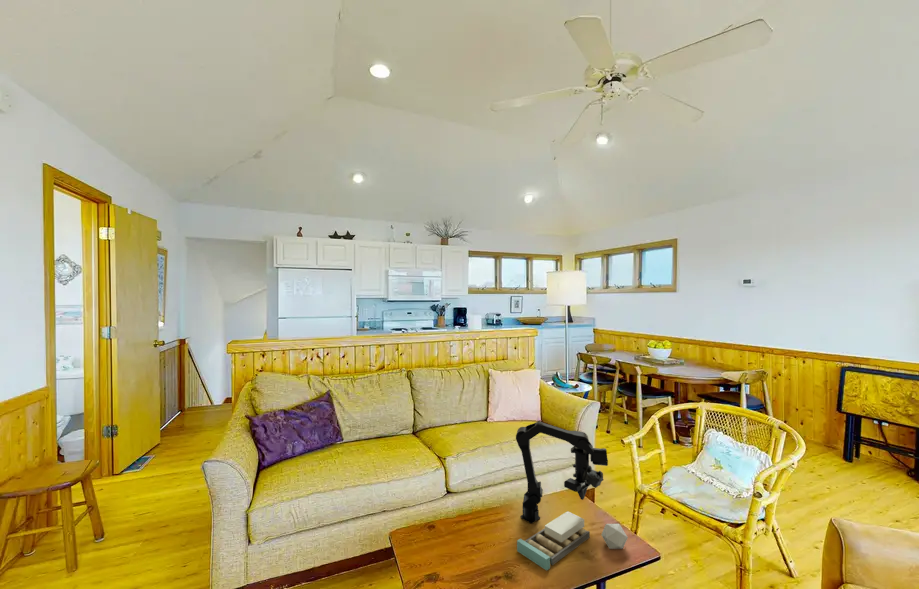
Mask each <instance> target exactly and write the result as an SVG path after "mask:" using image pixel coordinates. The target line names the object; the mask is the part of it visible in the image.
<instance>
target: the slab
mask: <svg viewBox="0 0 919 589" xmlns="http://www.w3.org/2000/svg"><path fill="white" fill-rule="evenodd" d="M544 528H545V533H546V534H547V535H549V536H551V537H553V538H554V539H556V540H558V541H559V542H561V543H562V542H563V541H565V540H566V539H567V538H569V537H570V536H572V535H573V534H576V532H577V531H579V530H580V529H582V528H583V529H584V528H585V518H583V517H580V516H579V515H576V514H574V513H572V512H570V511H566V512H564V513H562V514H561V515H559V516H557V517H556V518H554V519H553V520H551V521H550V522H548V523H547V524H545V525H544ZM567 540H568V539H567Z"/></svg>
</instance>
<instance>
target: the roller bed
mask: <svg viewBox="0 0 919 589" xmlns="http://www.w3.org/2000/svg"><path fill="white" fill-rule="evenodd" d="M590 534H591V533H590V530H586V529H585V528H584V527H583V528H582V529H580V530H579V531H577V532H576V533H575V534H573V535H572V536H570V537H569V538H567V539H566V540H565V541H563V542H562V543H561V542H559V541H558V540H556V539H554V538H553V537H551V536H549V535H547V534H546V533H545V527H544V528H543V529H541V530H539V531H538V532H536V533H535V534H533V535H531V536H530V537H528V538H527V539H525V540H524V541H525V542H527V543H528V544H530V545H532V546H533V547H535V548H536V549H538V550H540V551H541V552H543V553H544V554H546V555H548V556H549V557H550V566H554V565H555V564H556V563H558V562H559V561H561V560H562V559H563V558H565V557H566V556H567V555H568V554H570V553H571V552H572V551H574V550H575V549H576V548H578V547H579V546H581V545H582V544H584V542H586V541H587V540H589V539H590V537H591V535H590Z"/></svg>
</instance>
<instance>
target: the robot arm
mask: <svg viewBox="0 0 919 589" xmlns="http://www.w3.org/2000/svg"><path fill="white" fill-rule="evenodd" d="M539 434H543V435H546V436H550V437H551V438H552V437H553V438H555V439H559V440H561V441H564V442H565V441H566V442H567V443H569V444H570V445H571V446H572V447H570V453H572V454H574V464H572V468H574V470H575V472H574V473H573V474H572V476H573V478H571V477H570V478H567V479H565V481H563V487H564V488H566V489H568V490H570V491H573V492H576V493H577V494H578V496H579V499H580V500H582V501H583V500H585V497H586V494H587V490H588V487H590V486H591V487H592V488H595V489H596V488H598V487H599V486H601V484H602V482H603V481H604V473H603V472H602V471H601V470H599V471H598V470H594V469H592V466H591V465H590V463H592V465H593V466H595V465H596V466H602V467H603V466H604V467H608V465H609V458H608V450H607V448H605V447H602V448H597V447H593V444H592V443H591V441H590V440H589V436H588V435H587V433H586V432H584V431H580V430H567V429H564V428H561V427H558V426H554V425H552V424H548V423H545V422H543V421H540V420H538V421H535V422H534V423H530V424H528V425H526V426H521V427H518V429H517V430H516V434H515V440H516V442H517V445H518V447H519V449H520V452H521V456H522V460H523V466H524V471H525V476H526V481H527V482H526V483H527V491H526V492H525V493H524V495H523V501H522V514H521V515H520V518H521V519H523V521H526V522H528V523H530V524H533V523H535V522H536V521H538V520H540V519H541V516H540V515H539V511H540V510H539V504H540V503H541V501H542V498H543V493H544V492H543V491H544V490H543V488H542V482H541V481H540V480H539V481H538V480H537V476H536V471H535V467H534V463H533V457H532V451H531V439H533V438H534V437H536V436H538V435H539ZM574 478H575V479H574Z"/></svg>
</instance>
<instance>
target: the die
mask: <svg viewBox="0 0 919 589" xmlns="http://www.w3.org/2000/svg"><path fill="white" fill-rule="evenodd" d="M600 535H601V537H602V539H603V540H604V542H605V544H606V545H607V547H608V549H609V550H622V549H624V547H625V545H626V542H627V541H628V538H629V537H628V535H627V534H626V532H625V531H624V529H623V527H622V525H621V523H606V524H605V525H604V528H603V530H602V532H601V534H600Z"/></svg>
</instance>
